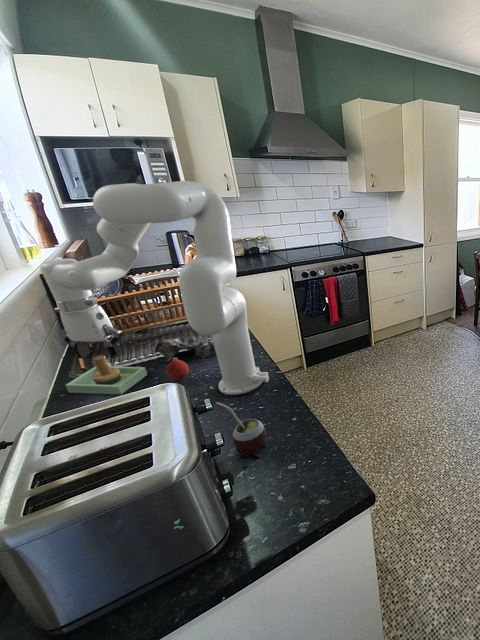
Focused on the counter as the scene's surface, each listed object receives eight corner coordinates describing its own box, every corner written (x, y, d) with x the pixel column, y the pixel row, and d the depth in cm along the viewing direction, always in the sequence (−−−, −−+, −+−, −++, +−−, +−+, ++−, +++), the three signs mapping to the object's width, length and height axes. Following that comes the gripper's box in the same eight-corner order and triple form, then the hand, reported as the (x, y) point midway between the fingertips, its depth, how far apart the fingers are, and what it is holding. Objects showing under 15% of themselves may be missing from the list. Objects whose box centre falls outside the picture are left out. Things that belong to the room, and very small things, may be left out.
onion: (180, 386, 108) (173, 364, 104) (165, 383, 109) (157, 361, 105) (195, 376, 113) (189, 354, 109) (180, 373, 114) (174, 352, 110)
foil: (201, 357, 117) (158, 333, 114) (192, 377, 122) (151, 355, 119) (222, 339, 127) (184, 317, 125) (213, 359, 132) (176, 338, 129)
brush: (127, 375, 110) (118, 352, 107) (110, 387, 105) (100, 363, 101) (107, 375, 110) (97, 352, 107) (89, 386, 104) (78, 362, 101)
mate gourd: (273, 452, 85) (263, 403, 79) (239, 469, 80) (225, 418, 74) (261, 436, 90) (251, 388, 83) (228, 451, 85) (215, 402, 78)
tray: (147, 374, 113) (145, 367, 112) (121, 394, 103) (118, 386, 102) (99, 373, 112) (96, 365, 111) (68, 392, 103) (65, 385, 102)
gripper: (119, 298, 100) (139, 350, 107) (59, 298, 100) (83, 349, 107) (96, 309, 93) (119, 363, 100) (32, 308, 93) (60, 362, 100)
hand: (101, 356), depth 104 cm, fingers open, 9 cm apart
